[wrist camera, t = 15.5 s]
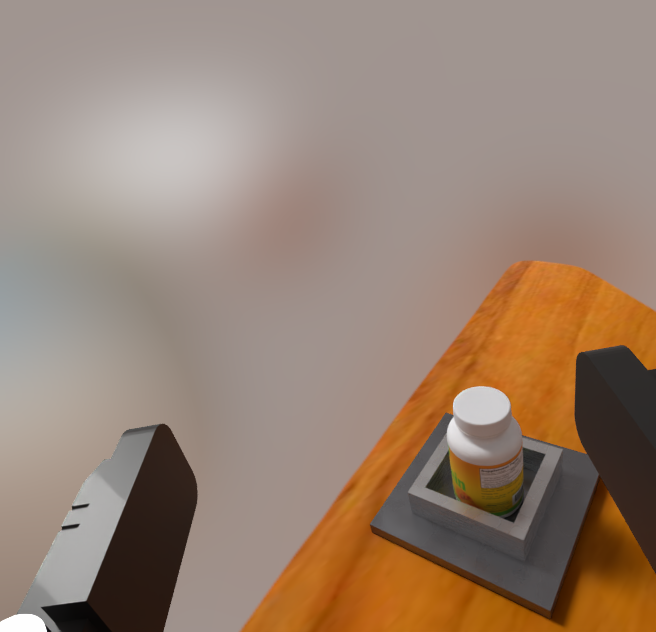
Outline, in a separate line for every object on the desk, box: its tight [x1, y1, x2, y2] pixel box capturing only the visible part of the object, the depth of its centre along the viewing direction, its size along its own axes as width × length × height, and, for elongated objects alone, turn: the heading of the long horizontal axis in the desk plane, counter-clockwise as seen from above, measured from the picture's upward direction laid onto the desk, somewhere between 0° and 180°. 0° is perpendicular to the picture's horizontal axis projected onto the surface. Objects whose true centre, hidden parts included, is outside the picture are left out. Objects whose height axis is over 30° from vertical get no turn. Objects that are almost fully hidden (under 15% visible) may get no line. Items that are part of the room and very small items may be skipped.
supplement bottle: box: [447, 386, 524, 518], centre depth 39 cm, size 5×5×10 cm
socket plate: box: [370, 413, 600, 619], centre depth 42 cm, size 14×14×4 cm
